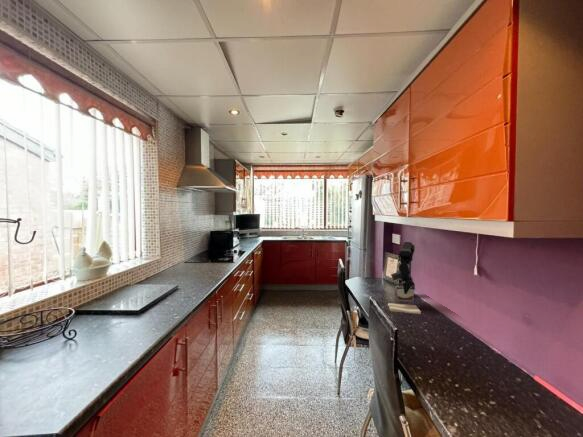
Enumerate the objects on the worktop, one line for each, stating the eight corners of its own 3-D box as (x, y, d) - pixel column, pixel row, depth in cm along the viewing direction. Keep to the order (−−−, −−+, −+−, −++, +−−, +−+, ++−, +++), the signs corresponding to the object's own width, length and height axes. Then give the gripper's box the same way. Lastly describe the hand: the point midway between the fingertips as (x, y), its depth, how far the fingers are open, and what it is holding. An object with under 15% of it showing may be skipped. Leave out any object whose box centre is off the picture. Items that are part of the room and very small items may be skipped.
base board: (388, 304, 182) (388, 303, 181) (415, 307, 178) (415, 305, 178) (391, 311, 170) (391, 309, 170) (420, 313, 166) (421, 311, 166)
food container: (412, 296, 177) (413, 282, 175) (415, 301, 171) (415, 287, 169) (393, 296, 179) (393, 282, 177) (395, 300, 173) (395, 286, 171)
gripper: (389, 265, 184) (389, 287, 184) (395, 271, 165) (394, 296, 166) (406, 266, 182) (405, 288, 182) (413, 272, 163) (413, 297, 164)
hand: (404, 292), depth 174 cm, fingers closed on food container, 6 cm apart
